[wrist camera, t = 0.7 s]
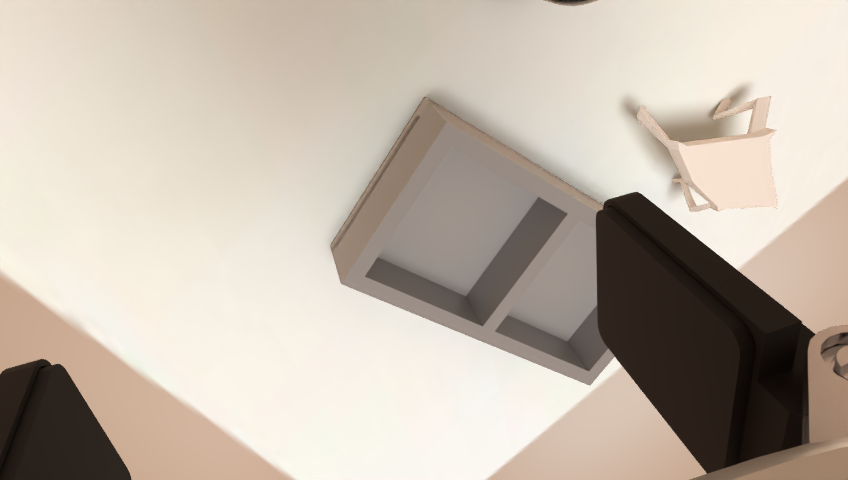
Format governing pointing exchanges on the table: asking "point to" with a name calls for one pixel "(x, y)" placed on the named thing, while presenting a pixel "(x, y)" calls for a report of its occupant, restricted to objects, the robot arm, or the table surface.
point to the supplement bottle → (571, 2)
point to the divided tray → (479, 245)
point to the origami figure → (725, 161)
